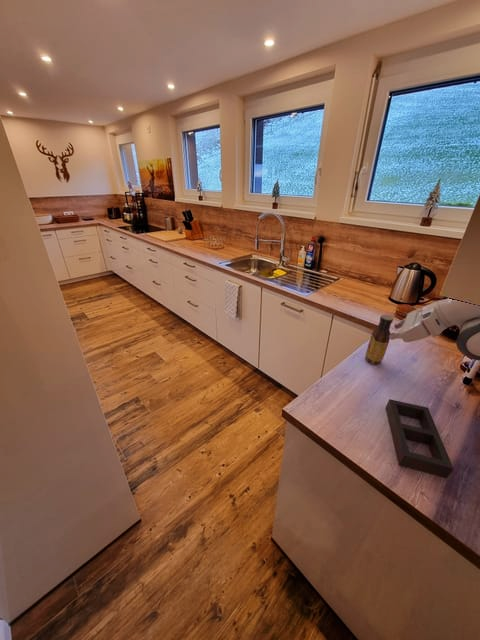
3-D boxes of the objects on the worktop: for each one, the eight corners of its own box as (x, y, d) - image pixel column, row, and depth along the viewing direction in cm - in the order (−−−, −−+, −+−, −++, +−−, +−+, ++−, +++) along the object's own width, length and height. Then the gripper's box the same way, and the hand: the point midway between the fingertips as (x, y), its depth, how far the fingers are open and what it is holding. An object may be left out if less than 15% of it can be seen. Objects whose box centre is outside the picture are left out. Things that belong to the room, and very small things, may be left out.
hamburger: (408, 323, 133) (413, 311, 129) (390, 315, 140) (394, 304, 136) (417, 318, 138) (422, 307, 134) (399, 311, 144) (403, 300, 141)
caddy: (423, 416, 80) (428, 407, 78) (446, 478, 64) (453, 468, 62) (385, 408, 83) (389, 398, 81) (398, 465, 66) (404, 455, 64)
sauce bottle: (368, 354, 108) (383, 311, 98) (384, 361, 104) (400, 317, 94) (360, 360, 104) (374, 316, 95) (376, 368, 100) (392, 322, 90)
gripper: (432, 298, 93) (393, 314, 103) (426, 319, 78) (381, 335, 88) (442, 313, 93) (402, 328, 103) (438, 337, 78) (392, 351, 88)
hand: (392, 331), depth 95 cm, fingers open, 8 cm apart
